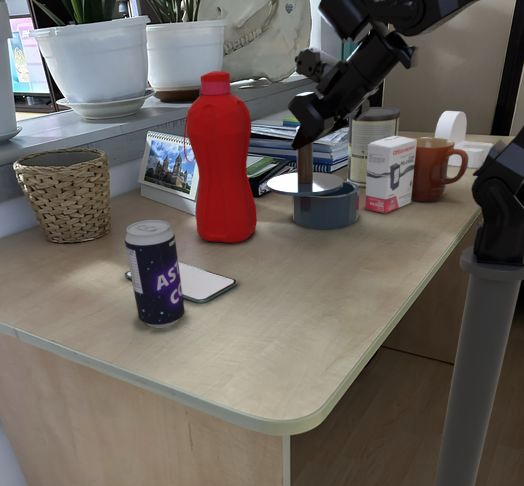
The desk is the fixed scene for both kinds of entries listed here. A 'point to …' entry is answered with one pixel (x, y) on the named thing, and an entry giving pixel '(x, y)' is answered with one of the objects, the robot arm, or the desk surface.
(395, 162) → the ink box
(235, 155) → the water bottle
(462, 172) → the mug
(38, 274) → the desk surface
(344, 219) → the pot
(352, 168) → the coffee can
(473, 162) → the tape dispenser
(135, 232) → the beverage can
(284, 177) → the lid
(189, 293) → the smartphone
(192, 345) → the desk surface
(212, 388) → the desk surface
